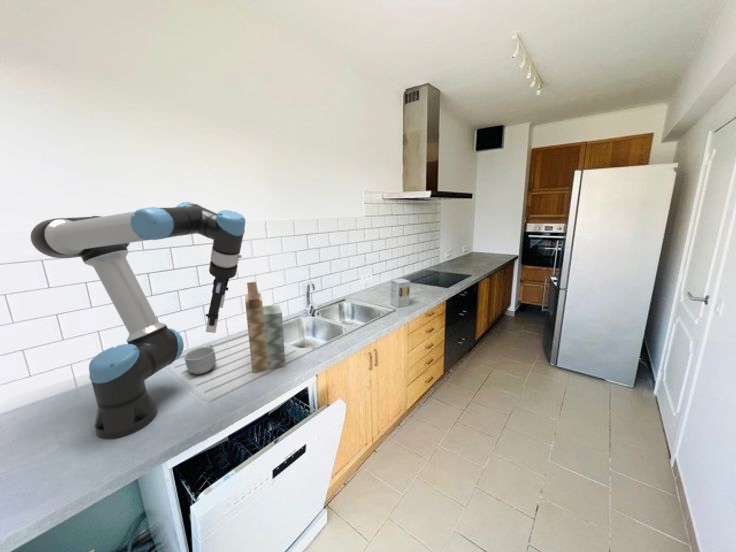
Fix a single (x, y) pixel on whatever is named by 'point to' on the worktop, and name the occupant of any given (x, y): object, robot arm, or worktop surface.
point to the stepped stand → (265, 336)
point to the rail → (253, 295)
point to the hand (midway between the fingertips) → (214, 318)
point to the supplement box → (400, 292)
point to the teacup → (200, 359)
